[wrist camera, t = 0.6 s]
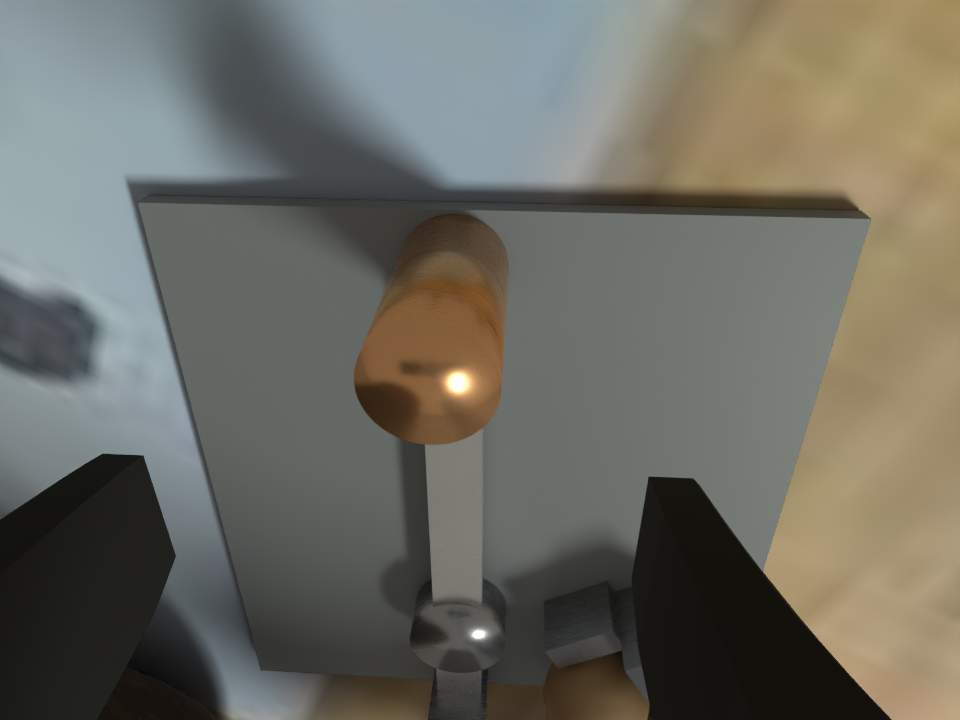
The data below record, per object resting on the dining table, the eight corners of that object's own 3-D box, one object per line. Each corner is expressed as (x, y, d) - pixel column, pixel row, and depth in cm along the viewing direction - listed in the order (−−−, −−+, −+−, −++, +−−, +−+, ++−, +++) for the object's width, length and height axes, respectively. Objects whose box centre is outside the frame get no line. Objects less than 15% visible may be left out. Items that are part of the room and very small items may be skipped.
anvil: (727, 668, 26) (749, 750, 23) (617, 698, 27) (626, 778, 24) (662, 562, 23) (679, 641, 20) (543, 601, 24) (545, 679, 22)
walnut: (635, 681, 26) (650, 780, 23) (540, 676, 26) (542, 773, 23) (647, 619, 24) (664, 717, 21) (545, 614, 25) (547, 710, 22)
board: (720, 682, 27) (724, 697, 26) (265, 656, 28) (260, 670, 27) (860, 210, 17) (871, 218, 17) (148, 195, 18) (137, 202, 17)
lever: (503, 695, 27) (497, 856, 22) (422, 690, 27) (399, 848, 23) (518, 215, 17) (513, 323, 12) (389, 212, 17) (335, 318, 12)
